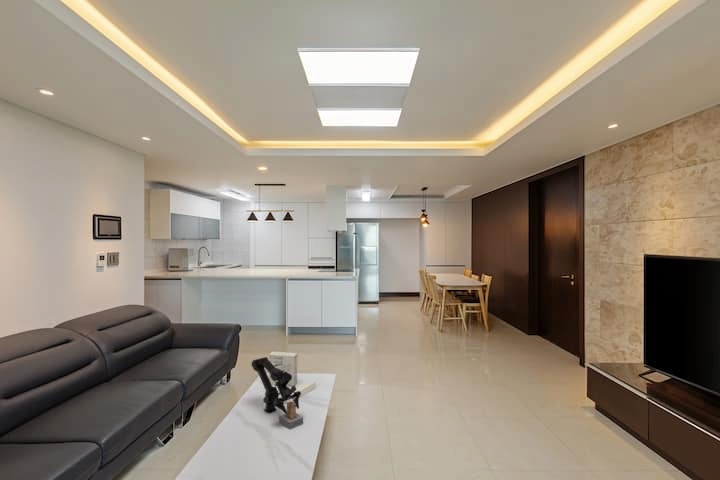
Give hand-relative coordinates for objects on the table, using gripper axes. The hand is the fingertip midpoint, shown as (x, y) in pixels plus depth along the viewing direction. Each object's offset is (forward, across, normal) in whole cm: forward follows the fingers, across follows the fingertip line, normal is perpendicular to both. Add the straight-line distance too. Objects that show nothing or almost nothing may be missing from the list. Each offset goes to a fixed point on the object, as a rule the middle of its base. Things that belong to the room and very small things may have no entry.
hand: (292, 411), depth 224 cm
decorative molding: (-18, +29, +30) cm, 45 cm away
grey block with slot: (+5, 0, +7) cm, 8 cm away
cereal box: (-35, +32, +47) cm, 67 cm away
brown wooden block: (+5, 0, +7) cm, 8 cm away
